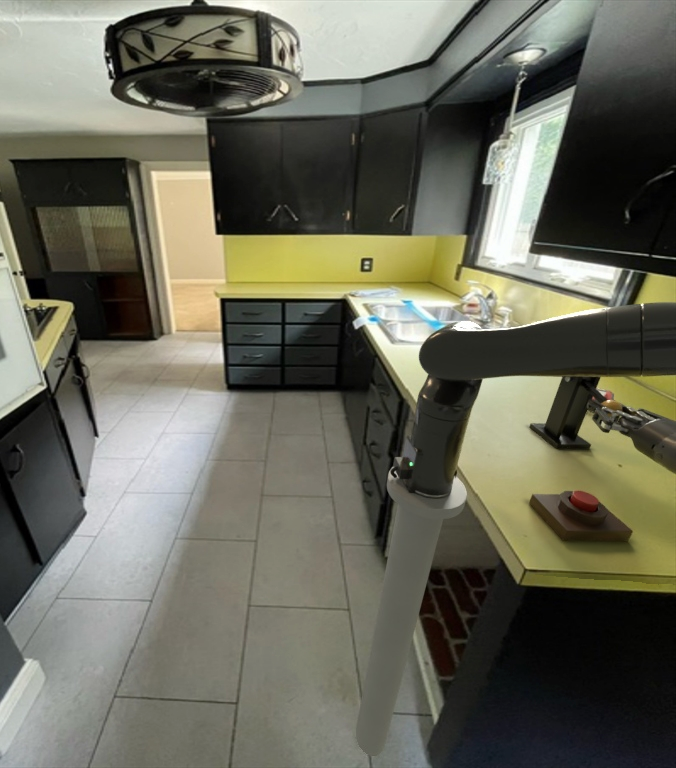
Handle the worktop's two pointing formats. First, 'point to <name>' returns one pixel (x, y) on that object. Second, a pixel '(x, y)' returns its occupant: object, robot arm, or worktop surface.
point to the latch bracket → (567, 415)
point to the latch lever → (600, 396)
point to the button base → (579, 519)
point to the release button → (584, 501)
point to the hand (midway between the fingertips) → (599, 403)
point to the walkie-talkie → (605, 394)
